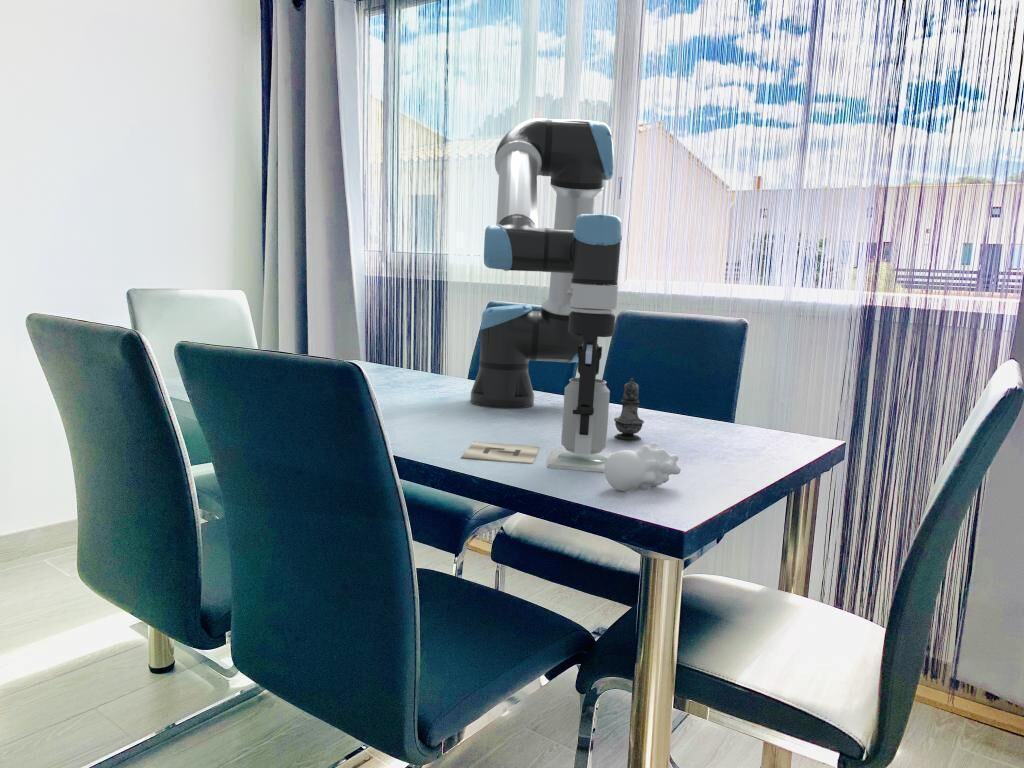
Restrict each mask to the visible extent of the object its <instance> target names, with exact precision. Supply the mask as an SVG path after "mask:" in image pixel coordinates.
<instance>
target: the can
mask: <svg viewBox="0 0 1024 768" xmlns="http://www.w3.org/2000/svg"><path fill="white" fill-rule="evenodd" d="M579 379H580V377H572V378H569V379H568V382H569V383H568V384H567V385H566V386H565V387H564V393H563V394H564V395H563V396H564V397H563V408H562V410H563V411H562V428H561V445H562V447H564V448H565V450H567V451H569V452H573V453H574V447H575V432H576V416H577V414H573V410H577V406H578V394H579ZM607 383H608V382H607V381H606V380H604V379H599V378H596V379H595V388H594V402H593V408H594V413H593V414H594V416H593V430H592V445H591V454H597V453H600V452H601V453H602V451H603V450H604V449H605V448H606V447H607V437H608V436H607V435H608V426H609V425H608V424H609V423H608V422H609V410H610V394H611V390H610V389H609V388H608V386H607ZM587 406H589V405H587Z"/></svg>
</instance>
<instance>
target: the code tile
mask: <svg viewBox="0 0 1024 768" xmlns="http://www.w3.org/2000/svg"><path fill="white" fill-rule="evenodd" d="M539 451H540V446H538V445H537V446H535V445H525V444H524V445H523V444H511V443H500V442H499V443H497V442H488V441H486V442H485V441H473V442H472V443H471V444H470V446H468V448H467V449H466V450H465V451H464V453H463V454H462V455H461V457H460V458H461V459H464V460H465V459H467V460H468V459H469V460H477V461H478V460H480V461H490V462H504V463H515V464H528V465H533V464H534V463H535V460H536V457H537V455H538V452H539Z"/></svg>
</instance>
